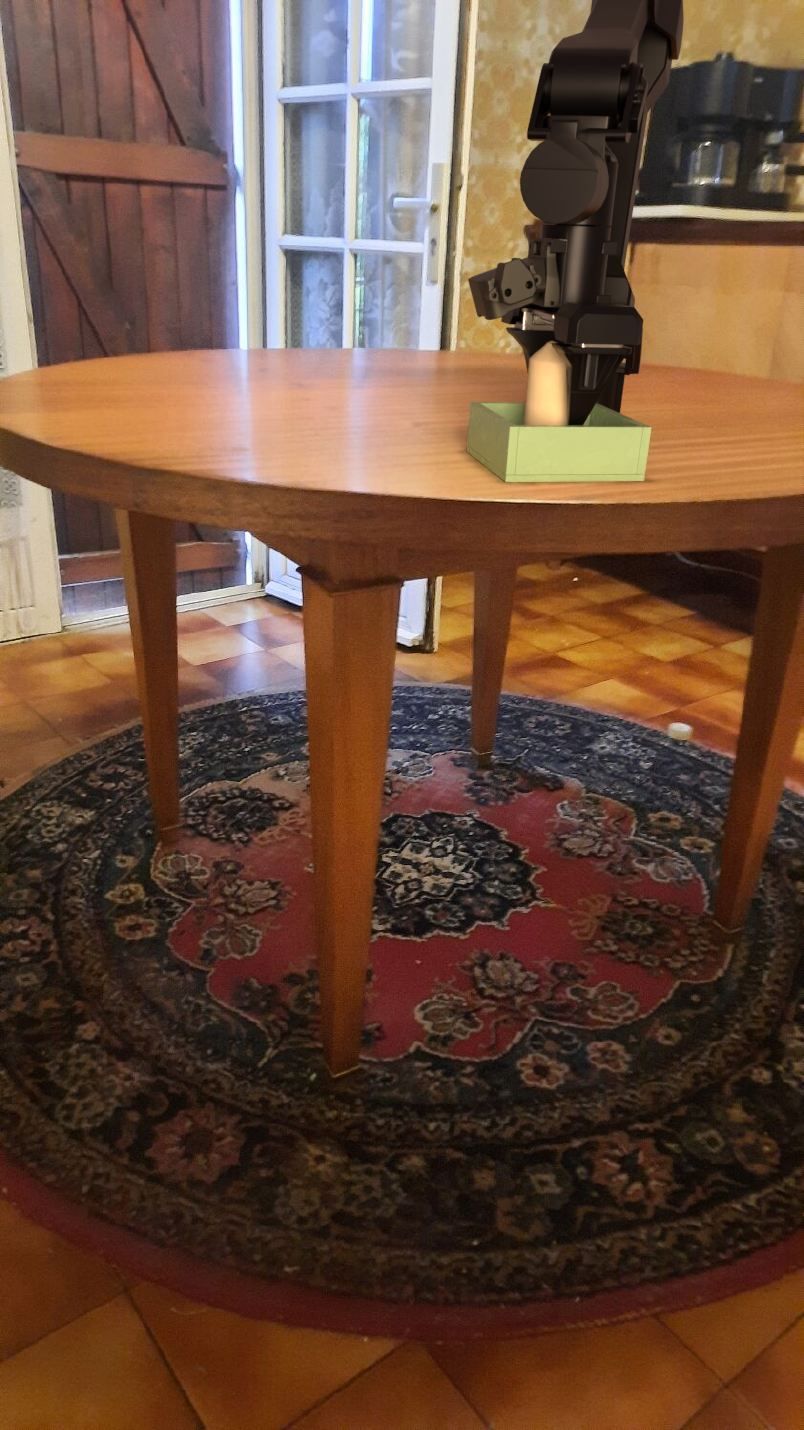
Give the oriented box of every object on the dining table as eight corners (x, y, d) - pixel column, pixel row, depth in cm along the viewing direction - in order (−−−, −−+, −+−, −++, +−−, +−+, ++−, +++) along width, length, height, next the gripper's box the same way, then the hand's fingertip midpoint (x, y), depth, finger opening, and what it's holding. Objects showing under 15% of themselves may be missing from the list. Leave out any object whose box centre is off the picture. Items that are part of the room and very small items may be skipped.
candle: (543, 467, 89) (555, 346, 85) (508, 454, 93) (518, 339, 89) (593, 463, 91) (608, 345, 87) (557, 451, 96) (569, 338, 91)
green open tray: (591, 451, 99) (596, 402, 97) (644, 481, 88) (652, 427, 86) (466, 451, 97) (469, 401, 95) (505, 482, 86) (510, 426, 84)
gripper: (453, 221, 91) (443, 402, 97) (517, 222, 74) (499, 440, 81) (571, 226, 93) (553, 403, 100) (658, 229, 76) (630, 440, 83)
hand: (556, 419), depth 91 cm, fingers open, 9 cm apart
